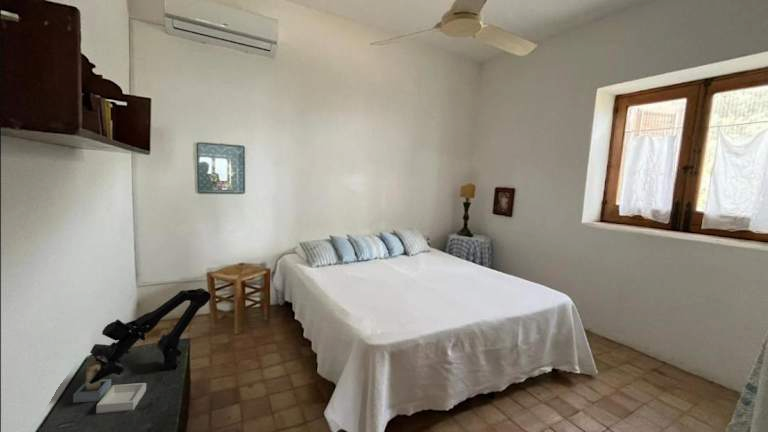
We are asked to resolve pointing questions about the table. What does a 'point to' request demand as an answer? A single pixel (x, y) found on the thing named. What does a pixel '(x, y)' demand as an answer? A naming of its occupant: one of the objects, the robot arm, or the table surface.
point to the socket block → (91, 392)
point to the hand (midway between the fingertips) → (88, 380)
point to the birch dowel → (90, 373)
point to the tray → (121, 398)
